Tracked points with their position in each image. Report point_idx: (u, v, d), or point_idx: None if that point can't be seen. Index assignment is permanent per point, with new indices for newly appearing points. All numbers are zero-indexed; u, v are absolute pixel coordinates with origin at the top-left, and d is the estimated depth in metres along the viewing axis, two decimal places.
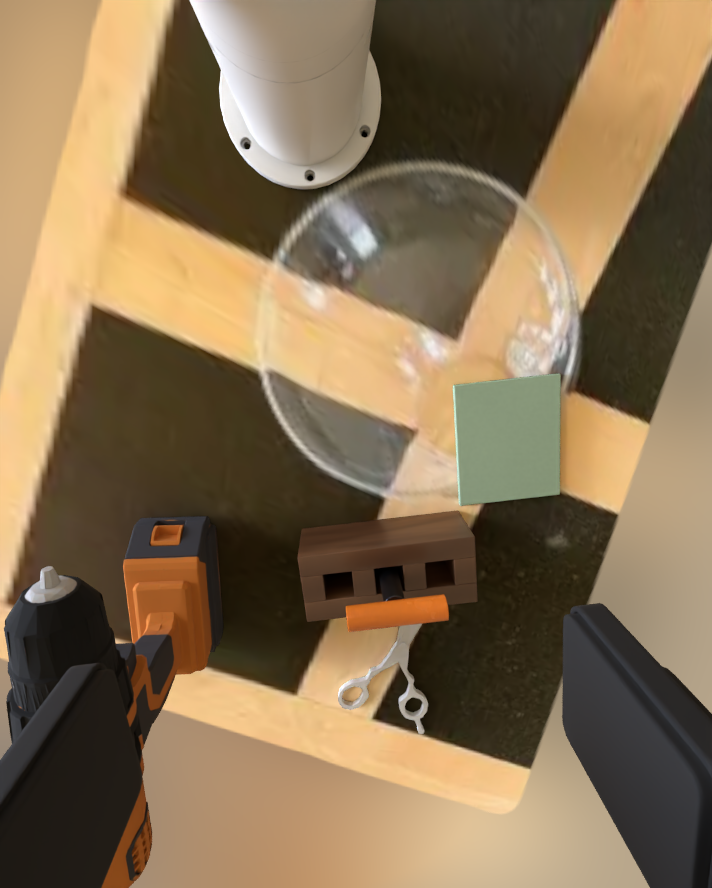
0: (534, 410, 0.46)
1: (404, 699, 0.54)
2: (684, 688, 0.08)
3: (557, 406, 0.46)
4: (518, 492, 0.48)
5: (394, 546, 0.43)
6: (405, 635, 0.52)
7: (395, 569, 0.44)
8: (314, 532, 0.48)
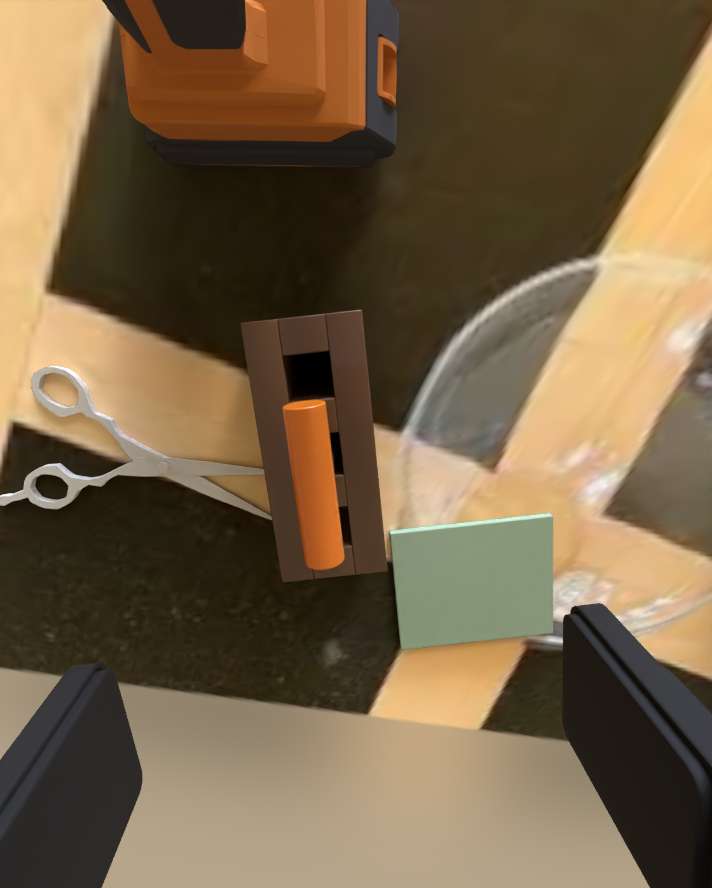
0: (513, 609, 0.38)
1: (62, 473, 0.34)
2: (684, 688, 0.08)
3: (514, 634, 0.38)
4: (405, 602, 0.37)
5: (375, 460, 0.28)
6: (181, 469, 0.34)
7: None
8: None
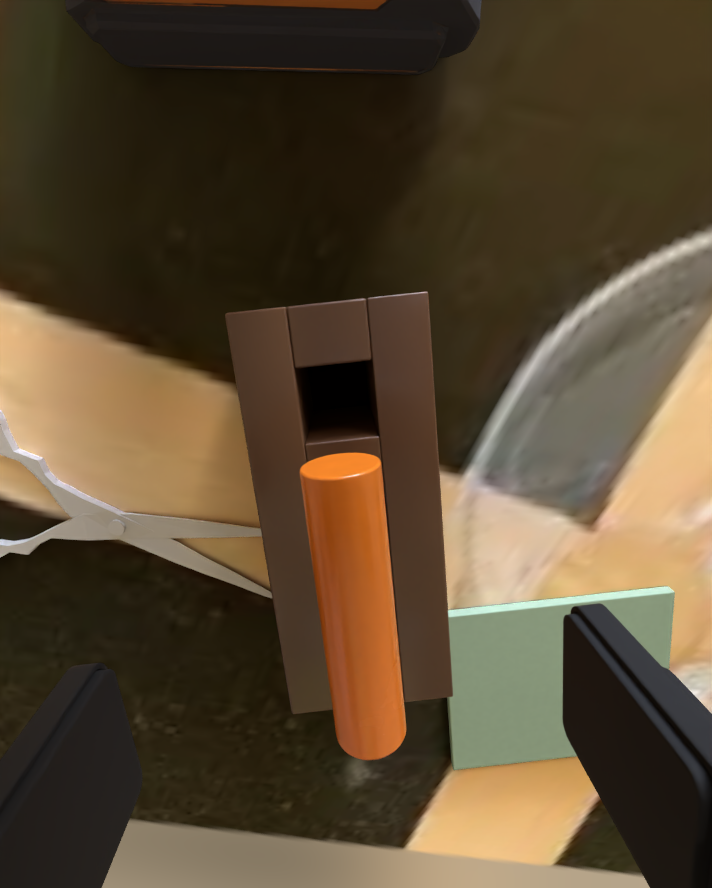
0: None
1: None
2: (684, 688, 0.08)
3: None
4: (462, 708, 0.27)
5: (441, 534, 0.18)
6: (143, 530, 0.24)
7: None
8: None
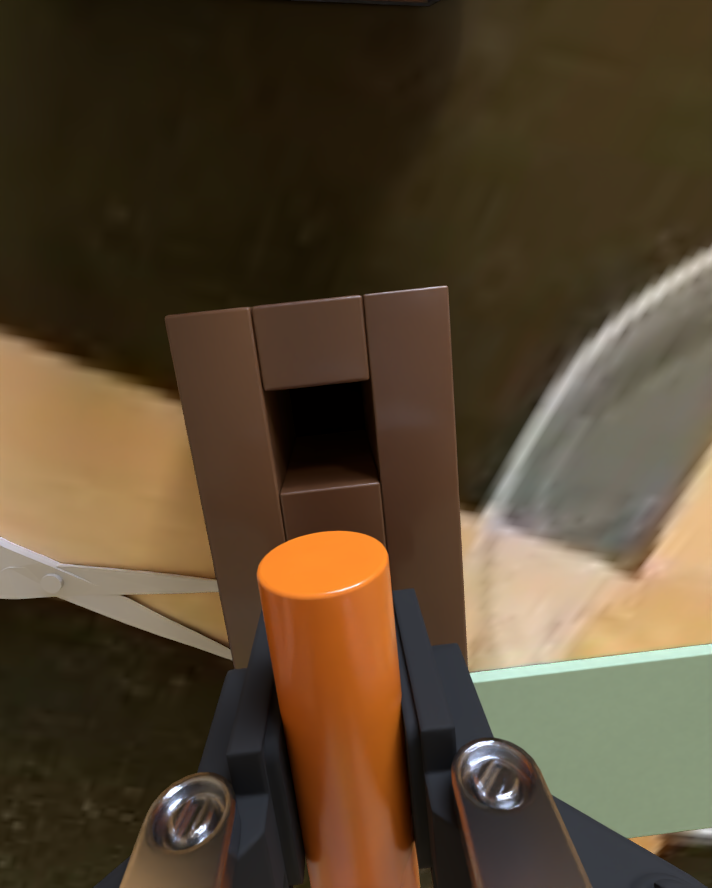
0: (653, 795, 0.23)
1: None
2: (462, 660, 0.09)
3: (651, 831, 0.23)
4: None
5: (463, 609, 0.13)
6: (85, 585, 0.19)
7: None
8: None
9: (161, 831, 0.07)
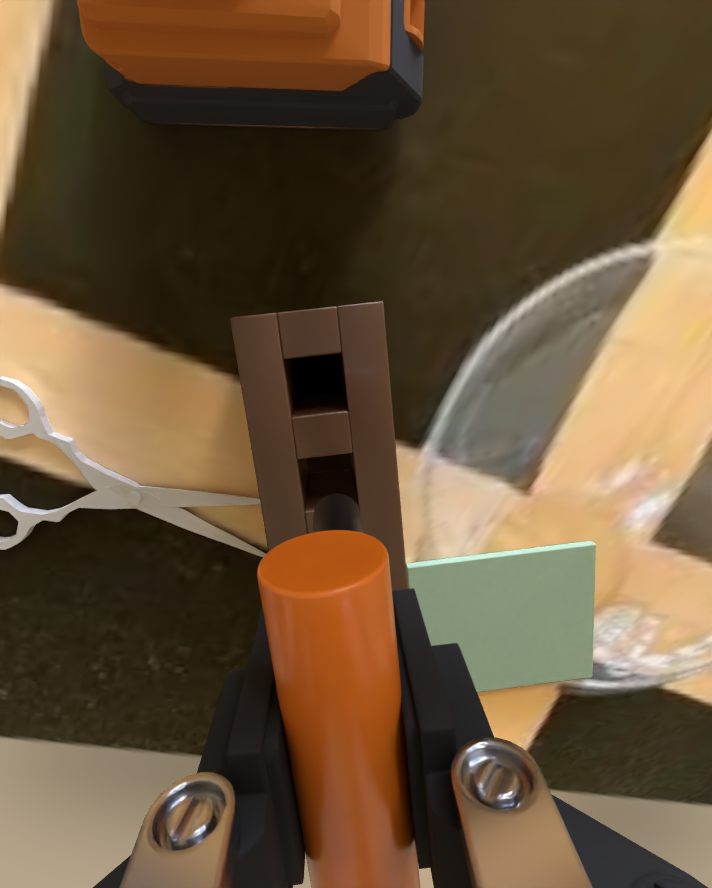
0: (547, 651, 0.33)
1: (10, 506, 0.28)
2: (462, 660, 0.09)
3: (548, 679, 0.33)
4: None
5: (398, 487, 0.23)
6: (156, 500, 0.28)
7: None
8: None
9: (161, 831, 0.07)
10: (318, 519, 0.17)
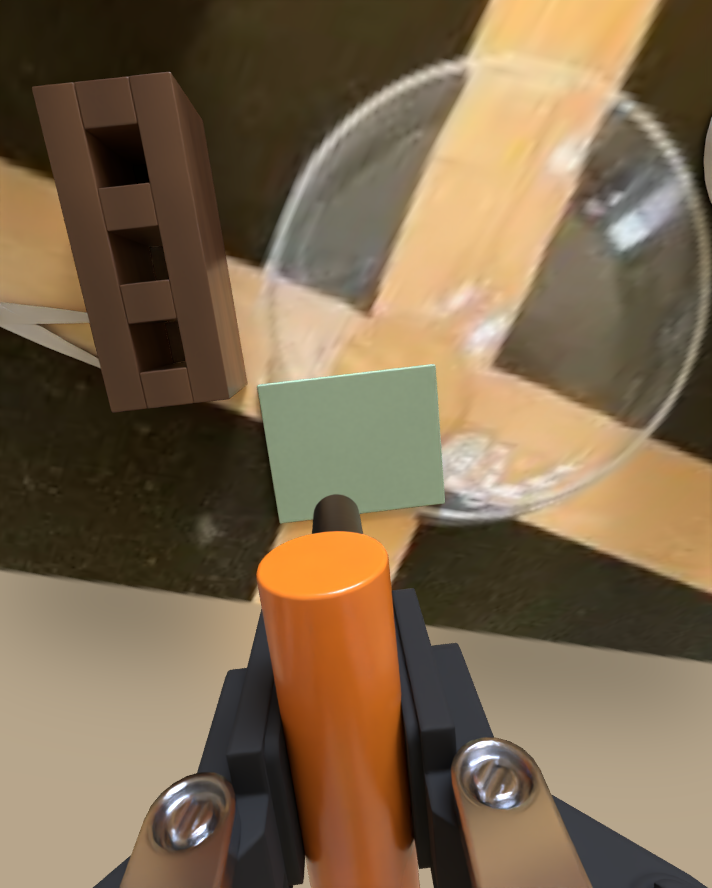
0: (399, 475, 0.35)
1: None
2: (462, 660, 0.09)
3: (402, 504, 0.35)
4: (280, 467, 0.34)
5: (203, 262, 0.25)
6: (14, 316, 0.31)
7: None
8: (201, 137, 0.28)
9: (161, 831, 0.07)
10: (318, 520, 0.17)
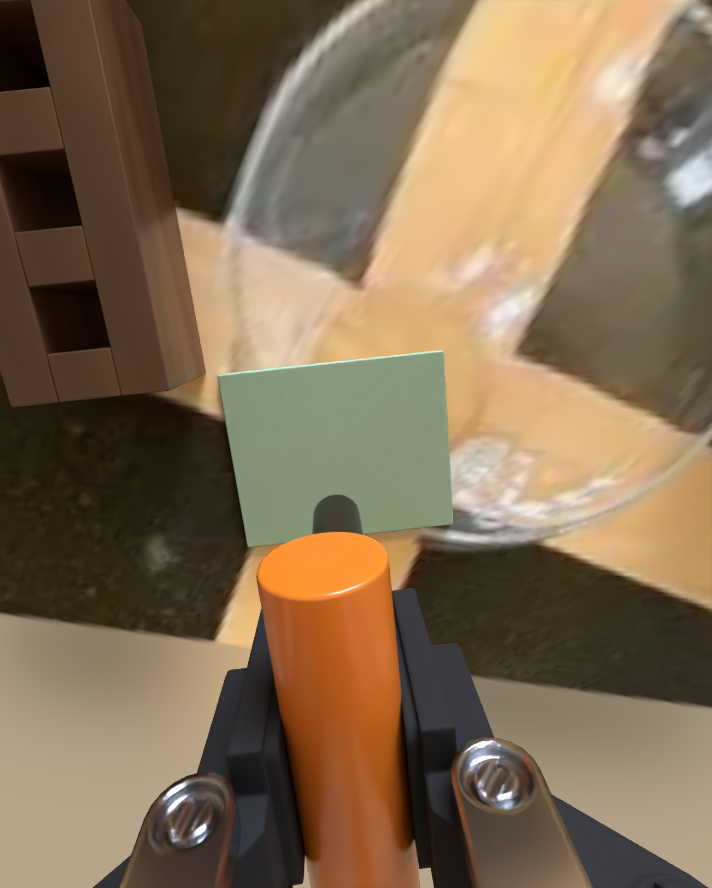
0: (396, 489, 0.28)
1: None
2: (462, 660, 0.09)
3: (400, 525, 0.28)
4: (247, 478, 0.27)
5: (129, 201, 0.18)
6: None
7: None
8: (137, 43, 0.21)
9: (161, 831, 0.07)
10: (318, 520, 0.17)
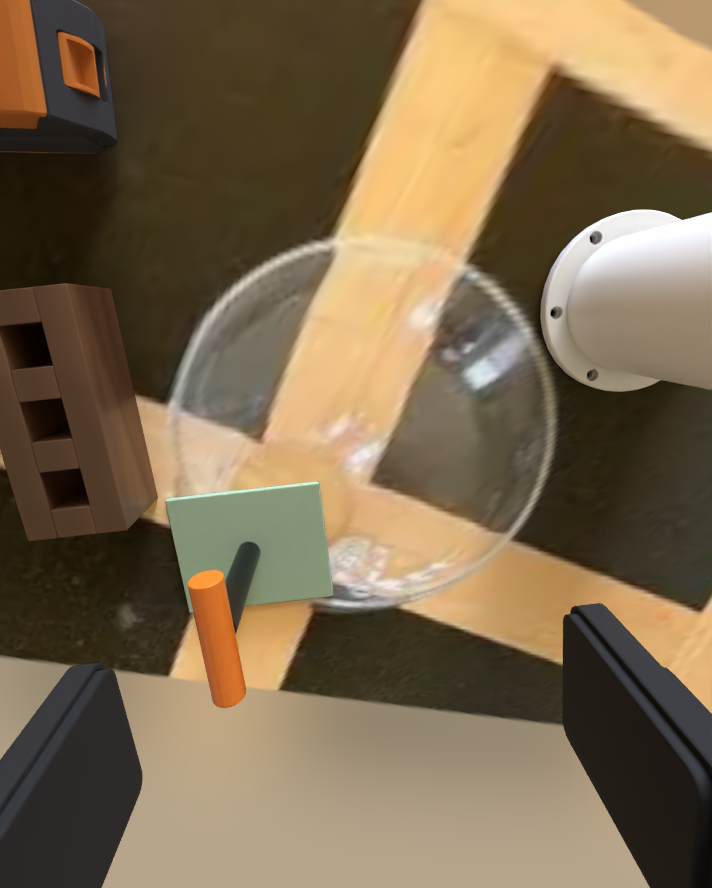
0: (291, 573, 0.40)
1: None
2: (684, 688, 0.08)
3: (296, 597, 0.41)
4: (188, 567, 0.39)
5: (100, 425, 0.31)
6: None
7: None
8: (107, 307, 0.33)
9: None
10: (236, 555, 0.37)
